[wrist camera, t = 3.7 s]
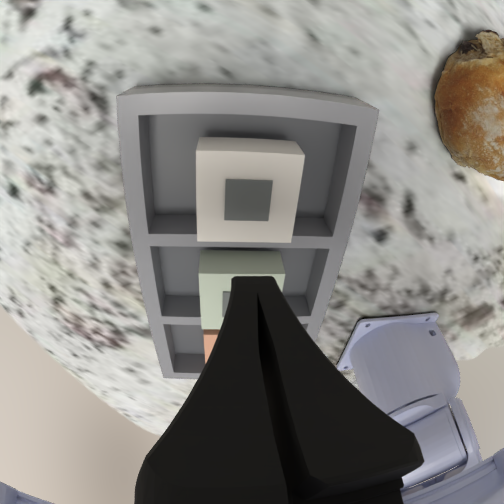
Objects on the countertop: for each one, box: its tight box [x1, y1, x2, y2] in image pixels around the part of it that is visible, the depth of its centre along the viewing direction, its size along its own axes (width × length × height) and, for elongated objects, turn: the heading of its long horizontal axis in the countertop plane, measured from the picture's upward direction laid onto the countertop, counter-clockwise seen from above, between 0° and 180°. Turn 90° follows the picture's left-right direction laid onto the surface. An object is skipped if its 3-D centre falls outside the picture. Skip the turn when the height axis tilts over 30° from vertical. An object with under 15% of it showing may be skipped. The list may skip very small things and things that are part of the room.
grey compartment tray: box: [116, 84, 379, 379], centre depth 20 cm, size 12×22×3 cm, turn 176°
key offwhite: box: [196, 137, 305, 243], centre depth 15 cm, size 4×4×2 cm
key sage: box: [199, 250, 285, 329], centre depth 19 cm, size 4×4×2 cm
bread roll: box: [434, 30, 504, 181], centre depth 14 cm, size 10×10×8 cm
